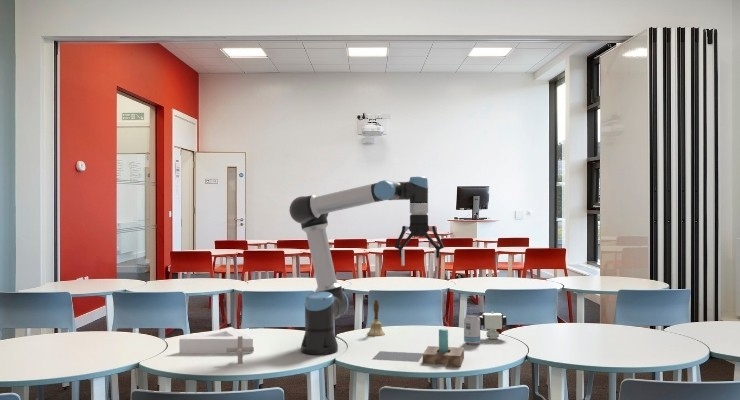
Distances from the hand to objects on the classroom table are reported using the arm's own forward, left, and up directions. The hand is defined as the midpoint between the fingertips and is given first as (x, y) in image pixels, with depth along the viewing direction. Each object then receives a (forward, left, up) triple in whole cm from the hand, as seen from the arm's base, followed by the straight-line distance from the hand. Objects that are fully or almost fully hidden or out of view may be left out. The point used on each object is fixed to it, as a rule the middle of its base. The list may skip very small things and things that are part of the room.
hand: (419, 265), depth 261 cm
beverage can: (+20, +17, -35) cm, 44 cm away
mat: (-6, -15, -35) cm, 38 cm away
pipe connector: (-63, -36, -35) cm, 81 cm away
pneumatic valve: (+28, +30, -35) cm, 54 cm away
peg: (+12, -17, -35) cm, 40 cm away
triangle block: (-83, -10, -36) cm, 91 cm away
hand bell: (-25, +28, -35) cm, 51 cm away
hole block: (+12, -17, -35) cm, 40 cm away
